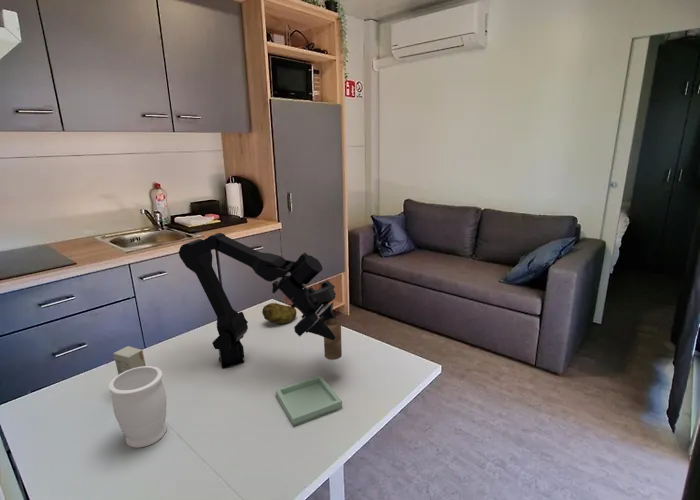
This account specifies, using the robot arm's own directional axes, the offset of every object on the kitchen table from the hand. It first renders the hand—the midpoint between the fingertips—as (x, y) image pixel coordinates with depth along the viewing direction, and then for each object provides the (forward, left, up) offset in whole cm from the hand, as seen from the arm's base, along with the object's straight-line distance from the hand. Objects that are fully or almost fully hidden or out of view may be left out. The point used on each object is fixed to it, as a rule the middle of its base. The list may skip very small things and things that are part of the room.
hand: (337, 334), depth 106 cm
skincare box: (-51, +22, -14) cm, 57 cm away
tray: (-12, -6, -13) cm, 19 cm away
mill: (-1, +1, -7) cm, 7 cm away
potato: (-3, +42, -14) cm, 45 cm away
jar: (-49, +2, -14) cm, 51 cm away
